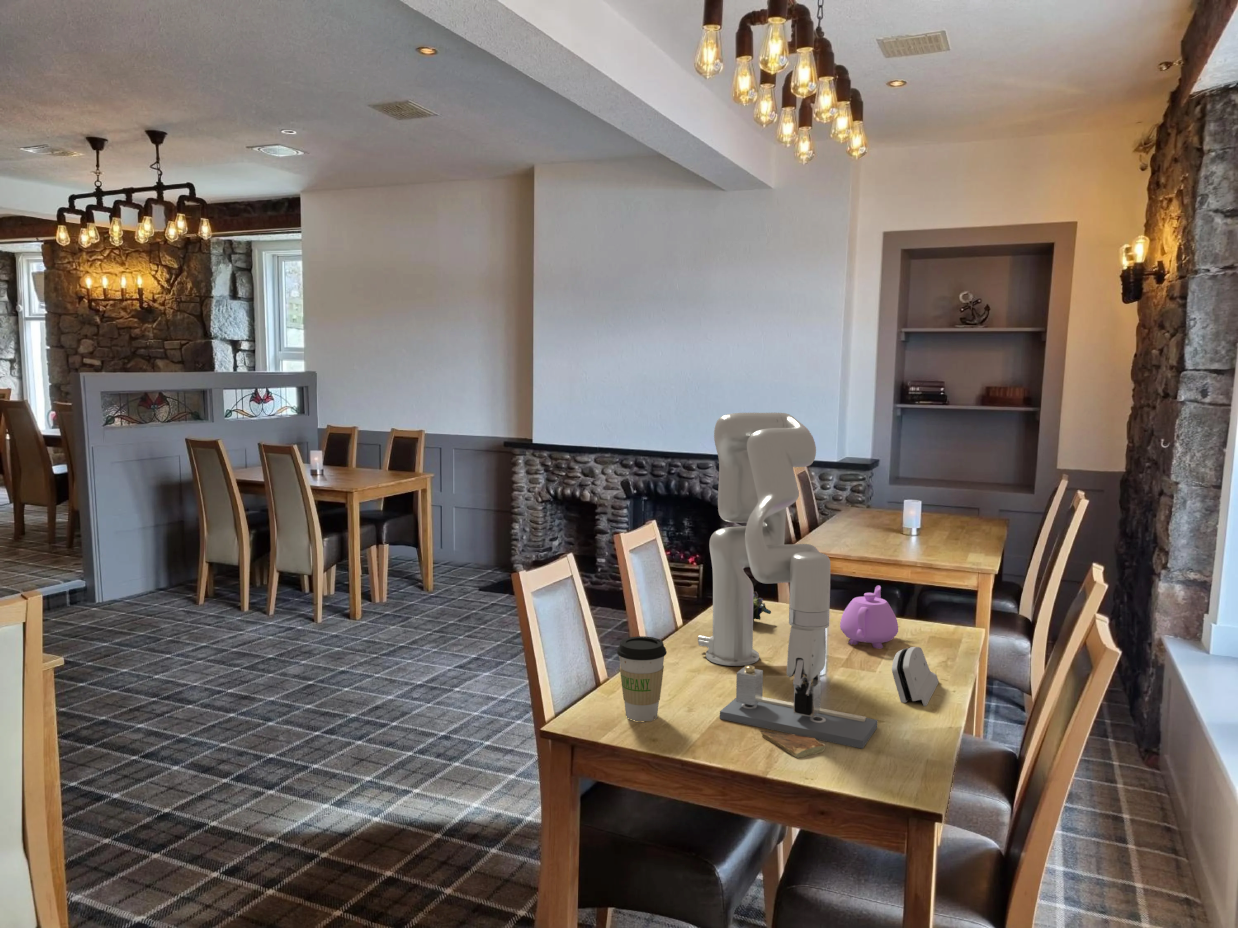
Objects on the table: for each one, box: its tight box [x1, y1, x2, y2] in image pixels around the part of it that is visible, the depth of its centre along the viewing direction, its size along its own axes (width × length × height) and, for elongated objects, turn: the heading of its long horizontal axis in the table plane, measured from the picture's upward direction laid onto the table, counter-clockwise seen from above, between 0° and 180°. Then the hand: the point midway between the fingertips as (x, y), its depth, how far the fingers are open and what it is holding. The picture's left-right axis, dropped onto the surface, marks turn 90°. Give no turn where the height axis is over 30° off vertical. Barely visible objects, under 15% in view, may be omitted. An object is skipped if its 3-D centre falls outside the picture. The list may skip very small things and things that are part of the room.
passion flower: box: [753, 591, 772, 622], centre depth 237 cm, size 11×11×12 cm
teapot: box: [839, 585, 899, 649], centre depth 222 cm, size 20×14×12 cm
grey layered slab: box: [891, 646, 940, 707], centre depth 188 cm, size 17×5×10 cm, turn 151°
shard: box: [759, 730, 826, 759], centre depth 161 cm, size 11×8×2 cm
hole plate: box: [719, 696, 878, 750], centre depth 170 cm, size 28×11×2 cm, turn 60°
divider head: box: [793, 675, 822, 717], centre depth 169 cm, size 4×4×8 cm
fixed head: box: [735, 664, 764, 706], centre depth 175 cm, size 4×4×8 cm
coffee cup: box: [616, 635, 667, 722], centre depth 173 cm, size 10×10×15 cm
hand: (807, 708), depth 169 cm, fingers closed on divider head, 4 cm apart
